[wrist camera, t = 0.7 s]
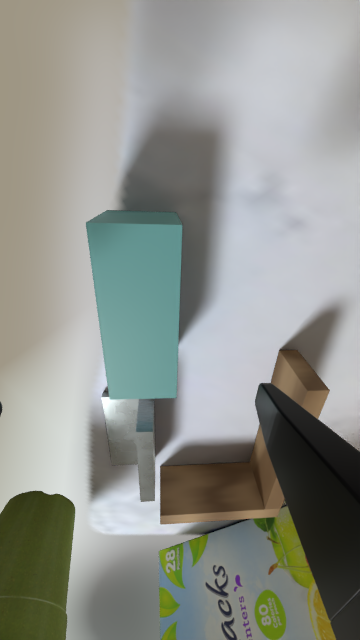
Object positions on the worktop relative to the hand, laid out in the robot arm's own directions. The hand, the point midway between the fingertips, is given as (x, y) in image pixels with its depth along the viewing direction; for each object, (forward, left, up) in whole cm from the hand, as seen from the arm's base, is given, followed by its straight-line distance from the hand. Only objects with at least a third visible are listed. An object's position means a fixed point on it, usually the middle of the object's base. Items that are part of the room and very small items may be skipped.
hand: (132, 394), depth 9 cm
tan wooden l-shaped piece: (-6, +13, -10) cm, 17 cm away
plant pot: (+12, +26, -10) cm, 30 cm away
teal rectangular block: (0, 0, -10) cm, 10 cm away
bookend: (+2, +14, -10) cm, 17 cm away
